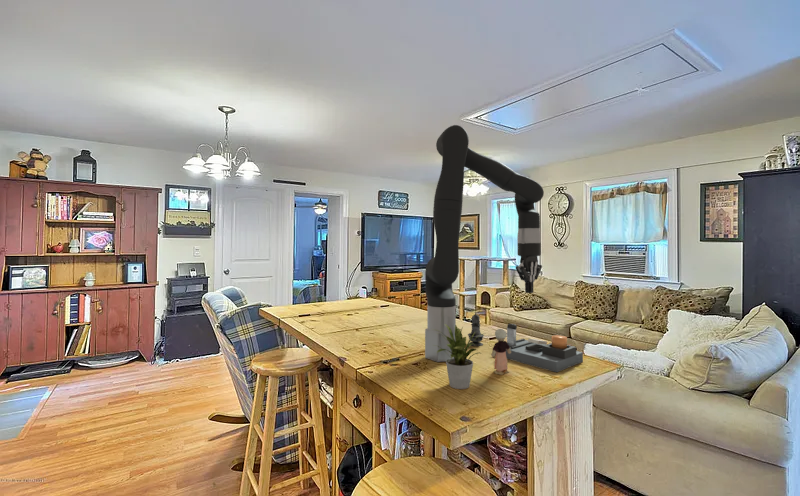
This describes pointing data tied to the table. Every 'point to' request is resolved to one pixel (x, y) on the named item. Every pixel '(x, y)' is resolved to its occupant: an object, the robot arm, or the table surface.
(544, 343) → the rocker switch
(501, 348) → the grandmother figurine
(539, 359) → the control panel
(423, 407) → the table surface
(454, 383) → the house plant
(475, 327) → the dark grey ornate statuette
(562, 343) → the push button
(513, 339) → the slide lever
